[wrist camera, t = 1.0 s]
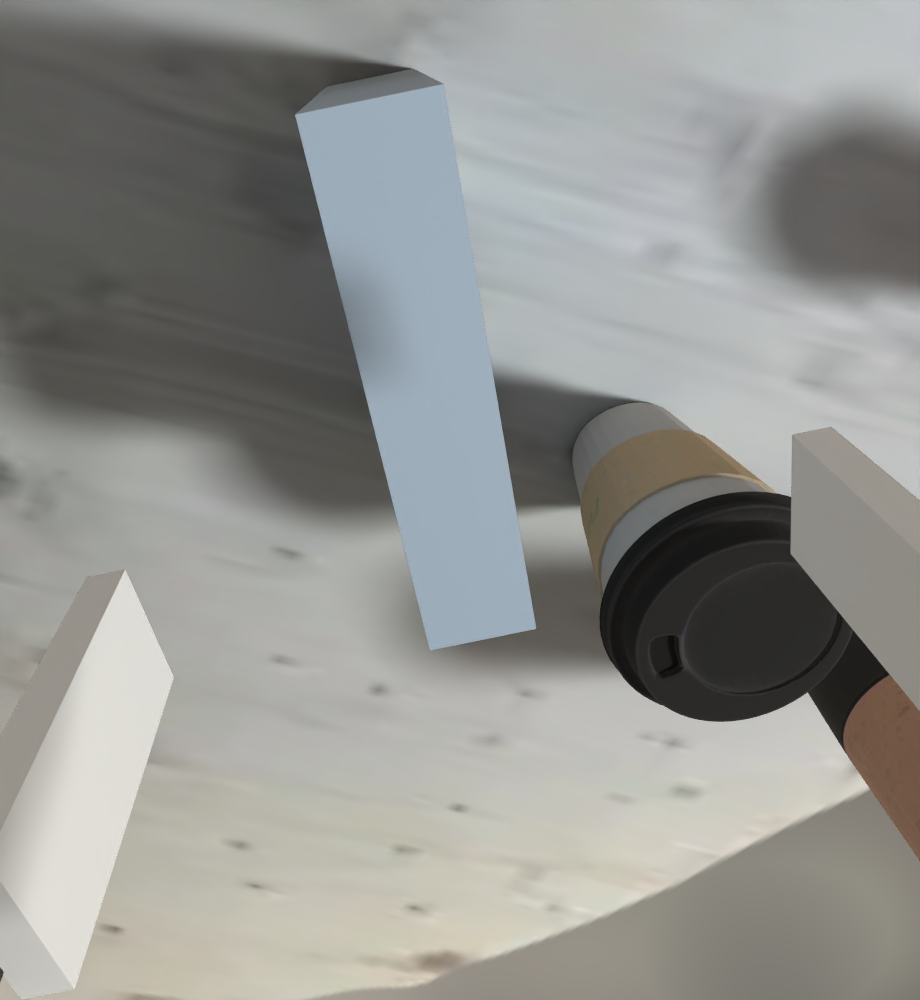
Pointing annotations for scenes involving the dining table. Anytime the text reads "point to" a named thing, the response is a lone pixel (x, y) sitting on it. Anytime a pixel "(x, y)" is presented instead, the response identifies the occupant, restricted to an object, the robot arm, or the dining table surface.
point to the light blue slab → (421, 345)
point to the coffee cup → (697, 571)
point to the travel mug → (876, 732)
